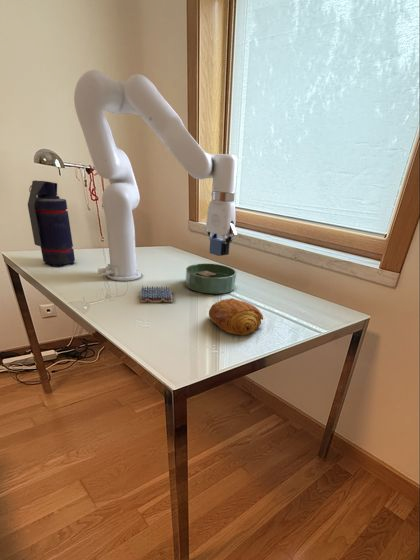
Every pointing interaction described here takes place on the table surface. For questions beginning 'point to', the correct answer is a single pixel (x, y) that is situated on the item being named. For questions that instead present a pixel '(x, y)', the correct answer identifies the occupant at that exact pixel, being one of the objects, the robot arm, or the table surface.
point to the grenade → (50, 223)
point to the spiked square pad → (156, 294)
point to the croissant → (235, 316)
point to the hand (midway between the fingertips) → (219, 252)
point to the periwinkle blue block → (216, 246)
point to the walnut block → (206, 274)
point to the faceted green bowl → (211, 285)
